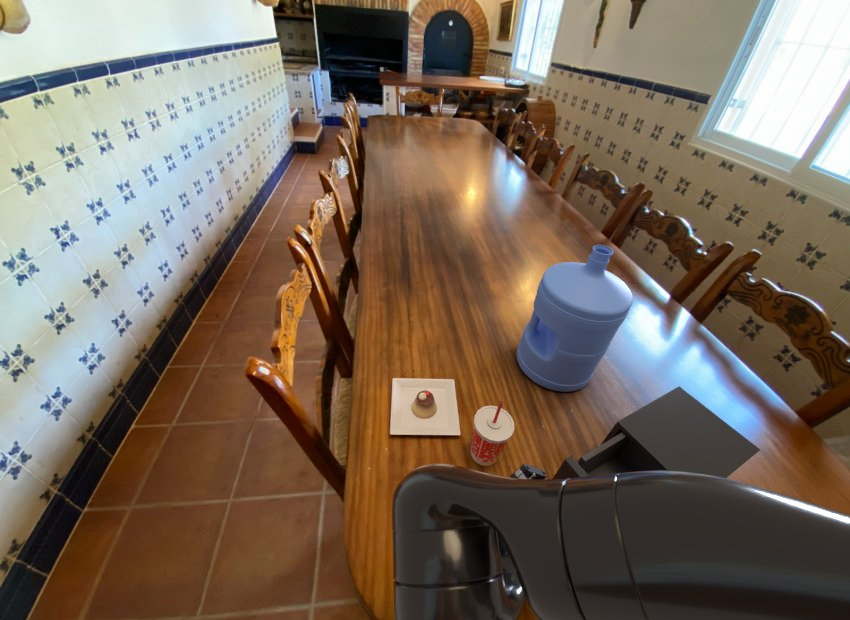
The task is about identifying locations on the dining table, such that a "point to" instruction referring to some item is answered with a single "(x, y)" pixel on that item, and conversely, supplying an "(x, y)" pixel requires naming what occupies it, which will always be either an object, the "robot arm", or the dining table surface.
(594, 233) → the dining table surface
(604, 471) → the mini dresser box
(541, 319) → the water jug
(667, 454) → the dark drawer cabinet
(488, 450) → the beverage cup
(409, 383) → the dessert
